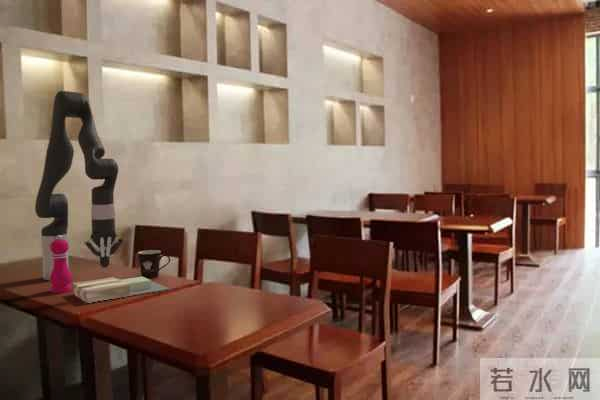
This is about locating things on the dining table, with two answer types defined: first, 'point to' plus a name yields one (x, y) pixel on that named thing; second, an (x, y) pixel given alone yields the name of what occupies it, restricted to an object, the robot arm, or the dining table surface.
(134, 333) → the dining table surface
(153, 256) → the coffee mug
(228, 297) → the dining table surface
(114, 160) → the robot arm
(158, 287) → the slate mat
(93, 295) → the block
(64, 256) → the pepper mill
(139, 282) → the green tile
